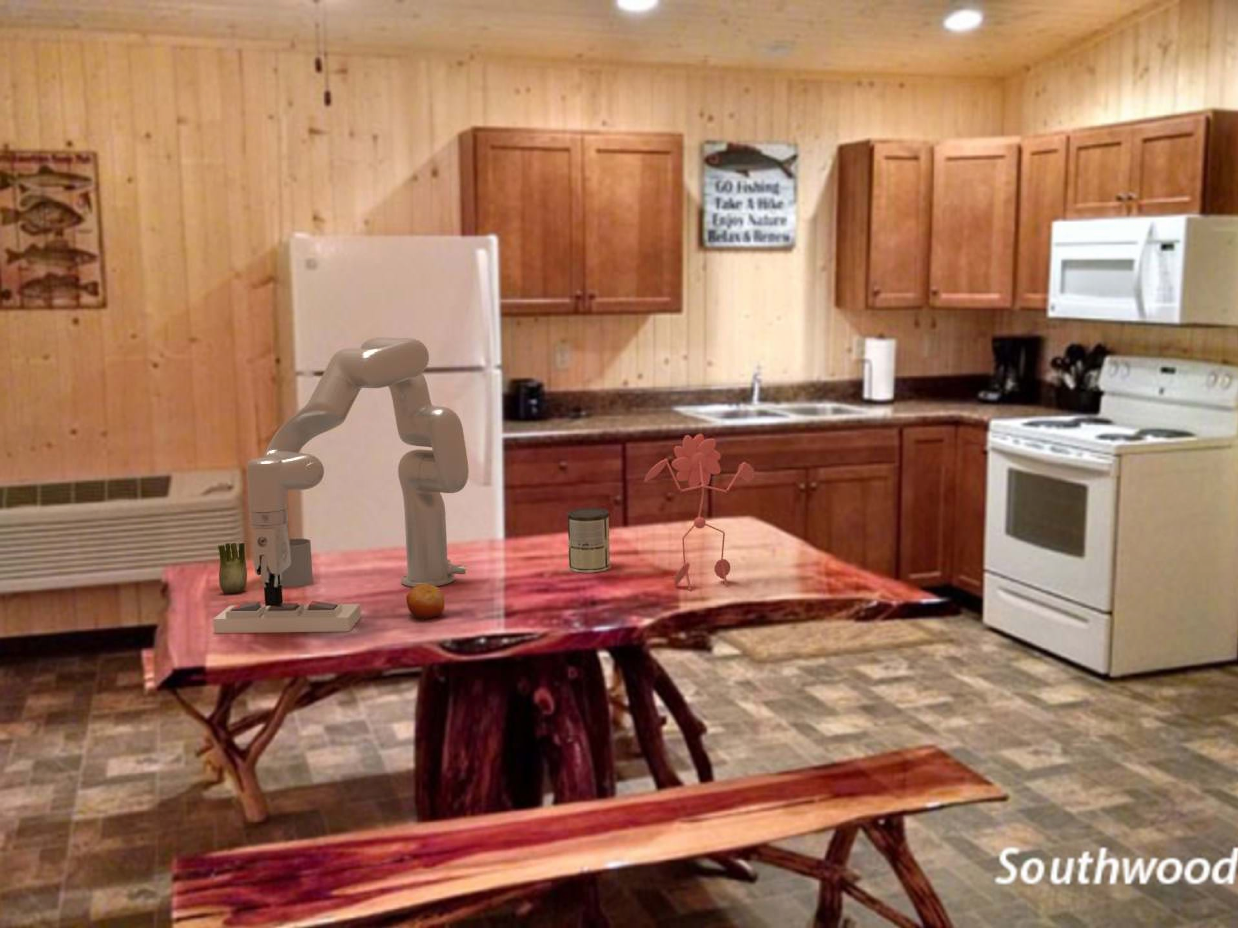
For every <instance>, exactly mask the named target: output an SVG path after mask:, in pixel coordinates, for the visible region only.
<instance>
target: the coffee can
mask: <svg viewBox="0 0 1238 928" xmlns="http://www.w3.org/2000/svg"><path fill="white" fill-rule="evenodd" d="M566 516H567V531H568V535H567V536H568V540H567V541H568V565H569V566H568V569H569V570H570V571H571V572H576V573H583V574H590V573H591V574H593V573H601V572H604V571H608V570H609V569H611V562H610V561H611V560H610V557H611V555H610V523H609V522H610V520H609V519H610V518H609V517H610V511H609V510H608V509H605V508H598V507H597V508H596V507H584V508H583V507H582V508H576V509H571V510H569V511H567V513H566Z"/></svg>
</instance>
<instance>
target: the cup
mask: <svg viewBox="0 0 1238 928" xmlns="http://www.w3.org/2000/svg"><path fill="white" fill-rule="evenodd" d="M289 544H290V554H291V565H290V566H289V567H288V568H287V569H286V570H285V571H283V572H282V584H281V585H282V588H284V587H286V588H288V589H290V588H289V587H295V588H302V587H305V586H306V585H307V586H309V585H311V583H312V584H314V579H313V576H314V575H313V564H312V563H313V561H312V547H311V545H312V544H311V540H310V539H308V538H289Z"/></svg>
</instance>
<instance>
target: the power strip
mask: <svg viewBox="0 0 1238 928" xmlns="http://www.w3.org/2000/svg"><path fill="white" fill-rule="evenodd" d="M336 604H337V606H336V608H335V609H334V610H308V607H309V604H300V603H298V608H297V609H296V610H292V611H270V607H271V606H266V605H265V604H260V606H261V607H260V608H259V609H258V610H257V611H231V610H232V609H233V608H234V607H235V606H237V604H234V605H228V606H227V607H226V609H224V610H222V611H221V612H220V613H219V614H218V615H216V616H215V617H214V618H213V632H214V634H240V633H243V634H245V633H247V634H248V633H251V634H253V633H255V634H256V633H318V632H319V633H321V632H322V633H324V632H326V633H327V632H328V633H332V632H333V633H334V632H336V633H337V632H338V633H339V632H340V633H341V632H350V631H351V630H352V629H353V628H354V626H355V625H356V624H357V623H358V622H359V620H360V619H361V616H362V615H361V614H362V613H361V604H360V603H345V604H344V603H343V604H342V603H336ZM355 623H356V624H355Z"/></svg>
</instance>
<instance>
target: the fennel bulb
mask: <svg viewBox="0 0 1238 928" xmlns="http://www.w3.org/2000/svg"><path fill="white" fill-rule="evenodd" d="M217 547H218V554H219V570H218V571H219V573H218V582H219V587H220V590H221V591H222V592H223V593H225V594H237V593H241V592H243V591H245V589H246V587H247V583H248V582H247V581H248V570H247V569H248V568H247V563H246V551H245V550H246V549H245V542H244V541H243V542H239V543H238V547H237V542H231V543H230V542H226V543H225V544H224V543H223V544H222V543H221V544H218V545H217Z"/></svg>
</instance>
